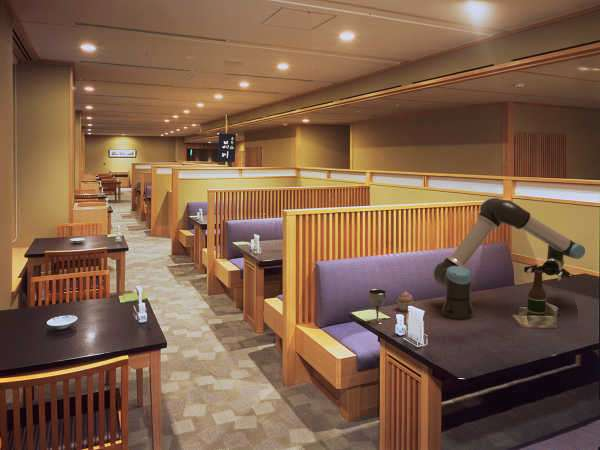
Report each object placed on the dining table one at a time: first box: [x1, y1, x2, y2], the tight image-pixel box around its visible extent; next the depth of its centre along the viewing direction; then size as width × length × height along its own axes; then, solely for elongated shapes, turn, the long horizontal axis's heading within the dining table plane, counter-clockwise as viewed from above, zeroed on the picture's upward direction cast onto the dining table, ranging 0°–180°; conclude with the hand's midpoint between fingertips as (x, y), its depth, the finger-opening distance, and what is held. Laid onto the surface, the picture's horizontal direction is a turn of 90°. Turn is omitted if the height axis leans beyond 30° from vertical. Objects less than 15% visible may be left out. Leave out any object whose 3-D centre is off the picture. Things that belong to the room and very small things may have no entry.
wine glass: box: [368, 288, 387, 325], centre depth 229 cm, size 8×8×15 cm
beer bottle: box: [527, 270, 547, 319], centre depth 221 cm, size 8×8×24 cm
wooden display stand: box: [512, 301, 558, 329], centre depth 223 cm, size 15×14×8 cm
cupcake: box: [396, 290, 416, 313], centre depth 245 cm, size 9×9×10 cm
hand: (543, 275), depth 228 cm, fingers open, 13 cm apart
